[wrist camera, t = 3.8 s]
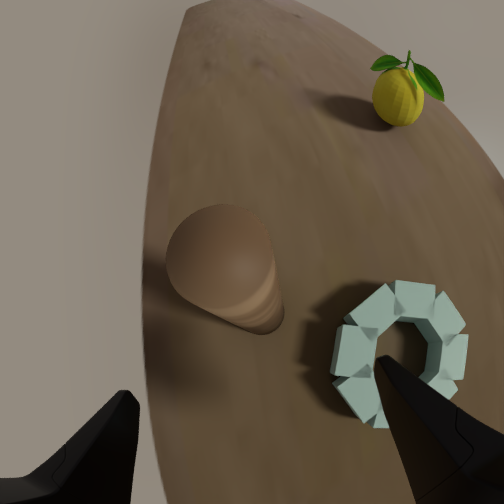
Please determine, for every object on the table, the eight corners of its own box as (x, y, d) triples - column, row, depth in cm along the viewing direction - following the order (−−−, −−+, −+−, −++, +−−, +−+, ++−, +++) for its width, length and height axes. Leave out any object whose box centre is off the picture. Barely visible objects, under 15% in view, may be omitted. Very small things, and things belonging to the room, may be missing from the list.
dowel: (279, 338, 20) (260, 318, 8) (235, 330, 20) (154, 295, 8) (287, 294, 21) (280, 209, 9) (244, 287, 21) (182, 200, 9)
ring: (438, 418, 15) (453, 423, 13) (320, 416, 17) (323, 424, 15) (454, 296, 18) (469, 289, 16) (343, 282, 20) (349, 273, 18)
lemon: (424, 146, 24) (454, 76, 15) (376, 143, 25) (397, 64, 15) (404, 106, 26) (423, 41, 17) (361, 102, 27) (371, 31, 18)
